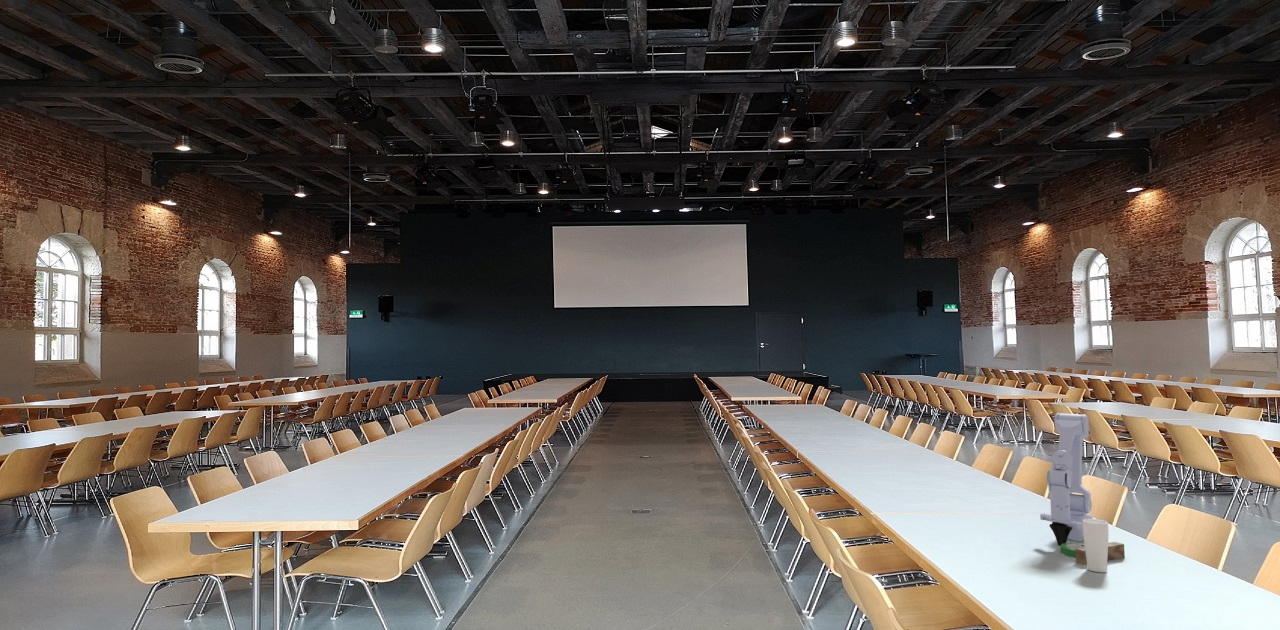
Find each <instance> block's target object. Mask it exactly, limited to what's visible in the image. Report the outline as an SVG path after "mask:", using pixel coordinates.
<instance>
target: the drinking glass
mask: <svg viewBox="0 0 1280 630" xmlns="http://www.w3.org/2000/svg"><path fill="white" fill-rule="evenodd" d="M1109 532H1110V531H1109V522H1108V521H1107V520H1104V519H1099V518H1093V519H1083V538H1084V541H1083V544H1084V546H1085V553H1086V561H1087V565H1086V568H1087V570H1088V571H1091V572H1095V573H1105V572H1106V573H1107V571H1108V561H1107V557H1108V543H1109V536H1110V535H1109V534H1110V533H1109Z"/></svg>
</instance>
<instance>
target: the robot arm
mask: <svg viewBox="0 0 1280 630" xmlns="http://www.w3.org/2000/svg"><path fill="white" fill-rule="evenodd" d="M1053 419H1054V427H1055V430H1056V432H1057V433H1058V434H1059V438H1058V439H1059V440H1058V449H1057V450H1056V451H1054V453H1053V457H1052V461H1051V462H1052V463H1051V466H1050V470H1048V471H1047V474H1046V482H1047V486H1048V488H1047V489H1048V491H1049V496H1050V497H1049V500H1050V514H1049V513H1040V514H1039V516H1040V520H1041V521H1047V522H1051V523H1050V524H1049V528H1050V530H1052V532H1053V535H1054V537H1055V541H1056V543H1057V546H1059V547H1061V544H1063V543H1068V540H1071V541H1074V542H1084V538H1083V519H1094V518H1093V516H1092V515H1091V514H1090V513H1091V511H1092V505H1093V503H1092V495H1091V492H1090V491H1089V490H1088V489H1087V488H1086V487H1084V486H1083V485H1082V482H1083V481H1082V480H1083V477H1082V476H1083V472H1082V471H1083V443H1084V439H1087V438H1089V434H1090V421H1089V417H1088V416H1087V414H1084V413H1083V414H1077V413H1063V412H1062V413H1060V412H1057V413H1056V414H1055V415H1054V418H1053Z"/></svg>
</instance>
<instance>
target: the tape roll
mask: <svg viewBox="0 0 1280 630" xmlns="http://www.w3.org/2000/svg"><path fill="white" fill-rule="evenodd" d="M1080 547H1085V546H1084V542H1083V543H1080V542H1066V543H1063V544H1061V546H1060V554H1062V555H1063V556H1066V557H1069V558H1074V559H1076V556H1075V548H1080Z"/></svg>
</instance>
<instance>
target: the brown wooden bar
mask: <svg viewBox="0 0 1280 630" xmlns="http://www.w3.org/2000/svg"><path fill="white" fill-rule="evenodd" d="M1125 553H1126V552H1125V544H1124V543H1121V542H1118V541H1111V542H1108V557H1107V562H1111V561H1117V560H1122V559H1125V558H1126V557H1125ZM1075 556H1076V558H1075V563H1076V564H1080V565H1082V566H1087V561H1086V553H1085V547H1080V548H1075Z"/></svg>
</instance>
